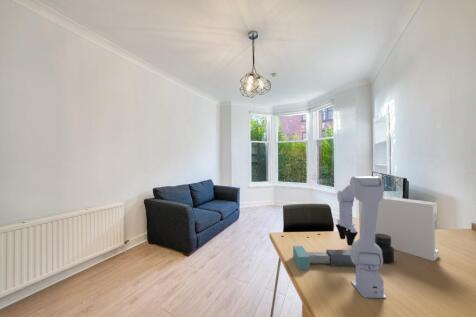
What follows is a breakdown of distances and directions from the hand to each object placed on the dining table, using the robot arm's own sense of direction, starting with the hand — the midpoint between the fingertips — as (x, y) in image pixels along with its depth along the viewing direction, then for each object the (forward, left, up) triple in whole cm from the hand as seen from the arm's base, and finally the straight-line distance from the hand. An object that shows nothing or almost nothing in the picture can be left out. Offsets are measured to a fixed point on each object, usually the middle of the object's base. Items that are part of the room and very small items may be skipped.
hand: (346, 242), depth 99 cm
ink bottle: (+2, -19, -10) cm, 21 cm away
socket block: (-3, +23, -9) cm, 25 cm away
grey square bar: (-3, +15, -8) cm, 17 cm away
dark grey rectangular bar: (-3, +3, -9) cm, 10 cm away
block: (+18, -36, -10) cm, 41 cm away
